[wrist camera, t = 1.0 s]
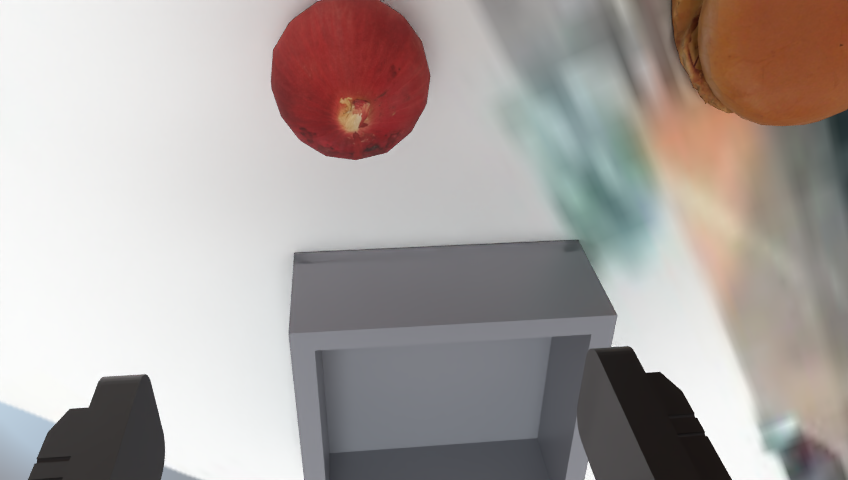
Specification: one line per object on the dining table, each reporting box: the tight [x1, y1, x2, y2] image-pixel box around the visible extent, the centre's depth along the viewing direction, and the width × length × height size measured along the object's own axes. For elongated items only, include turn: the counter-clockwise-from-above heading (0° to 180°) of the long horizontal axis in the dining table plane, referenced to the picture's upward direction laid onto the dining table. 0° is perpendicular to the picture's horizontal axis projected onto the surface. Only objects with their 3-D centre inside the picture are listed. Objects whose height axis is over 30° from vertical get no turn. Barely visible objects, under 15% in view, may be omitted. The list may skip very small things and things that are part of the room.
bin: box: [289, 240, 617, 480], centre depth 37 cm, size 14×14×6 cm
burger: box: [672, 0, 848, 126], centre depth 29 cm, size 10×10×5 cm
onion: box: [271, 0, 430, 160], centre depth 27 cm, size 6×6×8 cm
